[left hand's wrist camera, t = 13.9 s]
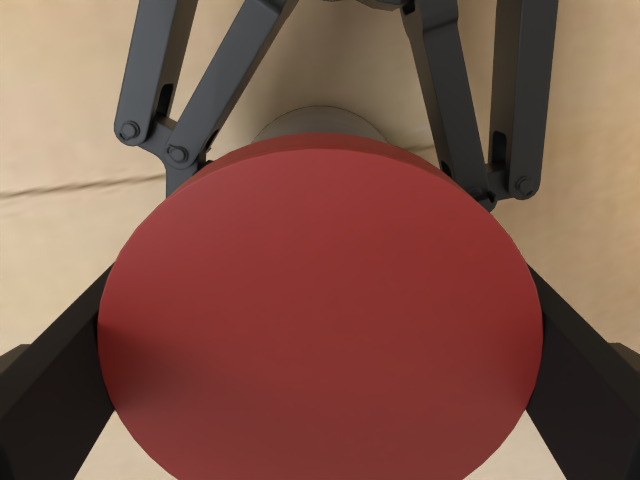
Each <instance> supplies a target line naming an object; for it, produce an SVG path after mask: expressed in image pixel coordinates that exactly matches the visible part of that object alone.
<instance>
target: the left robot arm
mask: <svg viewBox="0 0 640 480" xmlns="http://www.w3.org/2000/svg"><path fill="white" fill-rule="evenodd" d="M114 263H115V262H114ZM114 263H113V264H112V265H111V266H110V267H109V268H108V269H107V270H106V271H105V272H104V273H103V274H102V275H101V276H100V277H99V278H98V279H97V280H96V281H95V282H94V283H93V284H92V285H91V286H90V287H89V288H88V289H87V290H86V291H85V292H84V293H83V294H82V295H81V296H80V297H79V298H77V299H76V300H75V301H74V302H73V303H72V304H71V305H70V306H69V307H68V308H67V309H66V310H65V311H64V312H63V313H62V314H61V315H60V316H59V317H58V318H57V319H56V320H55V321H54V322H53V323H52V324H51V325H50V326H49V327H48V328H47V329H46V330H45V331H44V332H43V333H42V334H41V335H40V336H39V337H38V338H37V339H36V340H35V341H34V342H33V343H32V344H21V345H19V346H17V347H16V348H14V349H12V350H10V351H9V352H7V353H5V354H3V355H2V356H0V480H74V478H75V476H76V475H77V473H78V471H79V469H80V468H81V466H82V464H83V463H84V461H85V459H86V458H87V456H88V454H89V452H90V451H91V449H92V447H93V446H94V444H95V442H96V440H97V439H98V437H99V435H100V434H101V432H102V430H103V429H104V427H105V425H106V423H107V422H108V420H109V418H110V417H111V415H112V413H113V412H114V410H115V408H114V406H113V404H112V402H111V400H110V398H109V395H108V392H107V389H106V386H105V383H104V380H103V375H102V371H101V366H100V361H99V356H98V347H97V323H98V316H99V308H100V301H101V298H102V294H103V291H104V288H105V285H106V281H107V278H108V275H109V273H110V271H111V269H112V267H113V265H114ZM527 266H528V268H529V271H530V273H531V276H532V278H533V281H534V283H535V286H536V289H537V293H538V298H539V302H540V306H541V311H542V323H543V348H542V357H541V362H540V367H539V371H538V376H537V380H536V385H535V388H534V390H533V392H532V395H531V397H530V400H529V402H528V404H527V407H526V411H527V413H528V414H529V416H530V418H531V420H532V421H533V423H534V425H535V426H536V428H537V430H538V432H539V433H540V435H541V437H542V438H543V440H544V442H545V443H546V445H547V447H548V449H549V450H550V452H551V454H552V455H553V457H554V459H555V460H556V462H557V464H558V466H559V467H560V469H561V471H562V472H563V474H564V476H565V478H566V479H567V480H640V354H638V353H637V352H635V351H633V350H631V349H630V348H628V347H626V346H624V345H623V344H621V343H607V342H606V341H605V340H604V339H603V338H602V337H601V336H600V335H599V334H598V333H597V332H596V331H595V330H594V329H593V328H592V327H591V326H590V325H589V324H588V323H587V322H586V321H585V320H584V319H583V318H582V317H581V316H580V315H579V314H578V313H577V312H576V311H575V310H574V309H573V308H572V307H571V306H570V305H569V304H568V303H567V302H566V301H565V300H564V299H563V298H562V297H561V296H560V295H559V294H558V293H557V292H556V291H555V290H554V289H553V288H552V287H551V286H550V285H549V284H548V283H547V282H546V281H544V280H543V279H542V278H541V277H540V276H539V275H538V274H537V273H536V272H535V271H534V270H533V269H532V268H531V267H530V266H529V265H528V264H527Z"/></svg>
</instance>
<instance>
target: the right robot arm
mask: <svg viewBox="0 0 640 480" xmlns="http://www.w3.org/2000/svg"><path fill="white" fill-rule="evenodd" d="M298 1H299V0H245V2H244V3H243V5H242V7H241V9H240V11H239V12H238V14H237V16H236V18H235V20H234V21H233V23H232V25H231V27H230V29H229V30H228V32H227V34H226V36H225V38H224V39H223V41H222V43H221V45H220V47H219V48H218V50H217V52H216V54H215V56H214V57H213V59H212V61H211V63H210V65H209V66H208V68H207V70H206V72H205V74H204V75H203V77H202V79H201V81H200V83H199V84H198V86H197V88H196V90H195V92H194V93H193V95H192V97H191V99H190V100H189V102H188V104H187V106H186V108H185V109H184V111H183V113H182V115H181V117H180V118H179V120H178V122H176V121H174V120H172V119H170V118H169V116H170V112H171V108H172V104H173V100H174V96H175V91H176V87H177V83H178V79H179V75H180V71H181V67H182V63H183V59H184V55H185V51H186V47H187V43H188V39H189V35H190V31H191V27H192V23H193V19H194V15H195V11H196V7H197V3H198V0H139V5H138V10H137V15H136V20H135V25H134V30H133V34H132V39H131V44H130V49H129V54H128V59H127V64H126V68H125V73H124V78H123V83H122V88H121V93H120V98H119V102H118V107H117V112H116V117H115V122H114V132H115V134H116V137H117V138H118V139H119V140H120V141H121V142H122V143H124V144H125V145H128V146H139V147H141V148H143V149H145V150H147V151H149V152H151V153H153V154H154V155H156V156H157V157H158V158H159V159H160V160H161V161H162V162H163V164H164V166H165V169H166V198H168V197H169V196H170V195H171V194H172V193H173V192H174V191H175V190H176V189H178V188H179V187H180V186H181V185H182V184H183V183H184V182H185V181H187V180H188V179H189V178H191V177H192V176H193V175H194V174H196V173H197V172H198V171H200V170H201V169H202V168H204V167H205V166H206V165H208V164H210V163H212V162H213V161H212V160H208V161H207V162H206V153H207V152H208V151H209V150H210V149H211V148H210V147H211V145H212V143H213V141H214V140H215V138H216V136H217V135H218V133H219V131H220V130H221V128H222V126H223V125H224V123H225V121H226V120H227V118H228V116H229V115H230V113H231V111H232V109H233V108H234V106H235V104H236V103H237V101H238V99H239V98H240V96H241V94H242V93H243V91H244V89H245V88H246V86H247V84H248V83H249V81H250V79H251V77H252V76H253V74H254V72H255V71H256V69H257V67H258V66H259V64H260V62H261V61H262V59H263V57H264V56H265V54H266V52H267V51H268V49H269V47H270V46H271V44H272V42H273V40H274V39H275V37H276V35H277V34H278V32H279V30H280V29H281V27H282V25H283V24H284V22H285V20H286V19H287V18H288V17H289V15H290V14H291V12H292V11H293V9H294V8H295V6H296V4H297V3H298ZM324 1H331V2H332V1H340V0H324ZM357 1H359V2H361V3H363V4H365V5H367V6H369V7H371V8H375V9H381V10H387V11H393V10H395V9H397V8H400V12H401V16H402V20H403V24H404V28H405V31H406V34H407V36H408V38H409V40H410V43H411V48H412V52H413V56H414V60H415V64H416V69H417V73H418V77H419V81H420V85H421V89H422V94H423V98H424V102H425V106H426V110H427V115H428V119H429V123H430V127H431V131H432V136H433V140H434V144H435V148H436V152H437V157H438V161H439V165H440V169H441V171H442V172H444V173H445V174H446V175H447V176H449V177H450V178H451V179H452V180H453V181H454V182H455V183H457V184H458V185H459V186H460V187H461V188H462V189H463V190H465V191H466V192H467V193H468V194H469V195H470V196H471V197H472V198H473V199H475V200H476V201H477V202H478V203H479V204H480V205H481V206H482V207H483V208H485V209H486V210H487V211H488V212H489V213H490V212H491V211H492V210H493V209H494V208H495V206H496V203H497V201H498V200H503V199H508V198H513V197H514V198H516V199H518V200H525V199H529V198H530V197H532V196H533V195H535V193H536V192H537V191H538V189H539V186H540V179H541V169H542V159H543V149H544V139H545V129H546V119H547V109H548V99H549V89H550V79H551V69H552V59H553V49H554V39H555V29H556V19H557V9H558V0H497V7H496V23H495V41H494V59H493V78H492V96H491V114H490V132H489V150H488V164H485V162H484V157H483V152H482V147H481V142H480V137H479V132H478V127H477V122H476V117H475V112H474V107H473V102H472V97H471V92H470V87H469V82H468V77H467V72H466V67H465V62H464V57H463V52H462V47H461V42H460V37H459V32H458V27H457V21H458V5H457V0H357Z"/></svg>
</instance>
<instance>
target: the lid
mask: <svg viewBox="0 0 640 480" xmlns="http://www.w3.org/2000/svg"><path fill="white" fill-rule="evenodd" d="M97 347H98V356H99V361H100V366H101V371H102V375H103V380H104V383H105V386H106V389H107V392H108V395H109V398H110V400H111V402H112V404H113V406H114V408H115V410H116V412H117V414H118V416H119V418H120V419H121V421H122V422H123V424H124V425H125V427H126V428H127V430H128V431H129V432H130V434H131V435H132V437H133V438H134V440H135V441H136V442H137V443H138V444H139V445H140V446H141V447H142V448H143V450H144V451H145V452H146V453H147V454H148V455H149V456H150V457H151V458H152V459H153V460H154V461H155V462H157V463H158V464H159V465H160V466H161V467H162V468H163V469H165V470H166V471H167V472H168V473H169V474H171V475H172V476H174V477H175V478H177V479H178V480H463V479H464V478H465V477H467V476H468V475H469V474H470V473H472V472H473V471H474V470H475V469H477V468H478V467H479V466H481V465H482V464H483V463H484V462H485V461H486V460H487V459H488V458H489V457H490V456H491V455H492V454H493V453H494V452H495V451H496V450H497V449H498V448H499V447H500V446H501V444H502V443H503V442H504V441H505V439H506V438H507V437H508V435H509V434H510V433H511V432H512V430H513V429H514V428H515V426H516V424H517V422H518V421H519V419H520V417H521V416H522V414H523V412H524V411H525V409H526V407H527V404H528V402H529V400H530V397H531V395H532V392H533V390H534V388H535V385H536V380H537V376H538V371H539V367H540V362H541V357H542V348H543V323H542V311H541V306H540V302H539V298H538V293H537V289H536V286H535V283H534V281H533V278H532V276H531V273H530V271H529V268H528V266H527V263H526V261H525V260H524V258H523V256H522V255H521V253H520V251H519V250H518V248H517V246H516V245H515V243H514V242H513V240H512V238H511V237H510V236H509V235H508V233H507V232H506V231H505V230H504V229H503V228H502V226H501V225H500V224H499V223H498V222H497V220H496V219H495V218H494V217H493V216H492V215H491V214H490V213H489V212H488V211H487V210H486V209H485V208H483V207H482V206H481V205H480V204H479V203H478V202H477V201H476V200H475V199H473V198H472V197H471V196H470V195H469V194H468V193H467V192H466V191H465V190H463V189H462V188H461V187H460V186H459V185H458V184H457V183H455V182H454V181H453V180H452V179H451V178H450V177H449V176H447V175H446V174H445V173H444V172H442V171H441V170H439V169H438V168H436V167H435V166H433V165H432V164H430V163H429V162H427V161H425V160H424V159H422V158H421V157H418V156H416V155H414V154H412V153H410V152H408V151H405V150H403V149H401V148H399V147H397V146H394V145H391V144H387V143H384V142H381V141H378V140H374V139H371V138H366V137H360V136H354V135H348V134H342V133H313V132H312V133H302V134H292V135H283V136H279V137H275V138H271V139H267V140H263V141H258V142H255V143H252V144H250V145H247V146H245V147H242V148H240V149H237V150H234V151H232V152H229V153H228V154H226V155H224V156H222V157H221V158H219V159H217V160H215V161H213V162H212V163H210V164H208V165H206V166H205V167H204V168H202V169H201V170H200V171H198V172H197V173H196V174H194V175H193V176H192V177H191V178H189V179H188V180H187V181H185V182H184V183H183V184H182V185H181V186H180V187H179V188H178V189H176V190H175V191H174V192H173V193H172V194H171V195H170V196H169V197H168V198H166V199H165V200H164V201H163V202H162V203H161V204H160V205H159V206H158V207H157V208H156V209H155V210H154V211H153V212H152V213H151V214H150V215H149V216H148V217H147V218H146V219H145V220H144V221H143V222H142V223H141V224H140V225H139V226H138V227H137V228H136V230H135V231H134V233H133V234H132V235H131V237H130V238H129V240H128V241H127V243H126V244H125V245H124V247H123V248H122V250H121V251H120V253H119V255H118V257H117V259H116V261H115V263H114V265H113V267H112V269H111V271H110V273H109V275H108V278H107V281H106V285H105V288H104V291H103V294H102V298H101V301H100V308H99V316H98V323H97Z"/></svg>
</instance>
